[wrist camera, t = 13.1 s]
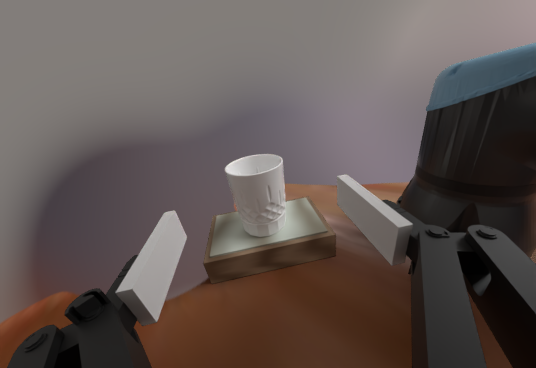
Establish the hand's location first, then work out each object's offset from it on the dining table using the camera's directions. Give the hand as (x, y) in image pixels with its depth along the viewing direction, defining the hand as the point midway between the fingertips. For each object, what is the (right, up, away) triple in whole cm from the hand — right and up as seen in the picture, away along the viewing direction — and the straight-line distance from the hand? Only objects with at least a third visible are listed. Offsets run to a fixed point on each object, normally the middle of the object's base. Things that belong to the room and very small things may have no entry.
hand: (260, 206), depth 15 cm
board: (+1, -8, +17) cm, 19 cm away
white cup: (0, -4, +15) cm, 15 cm away
